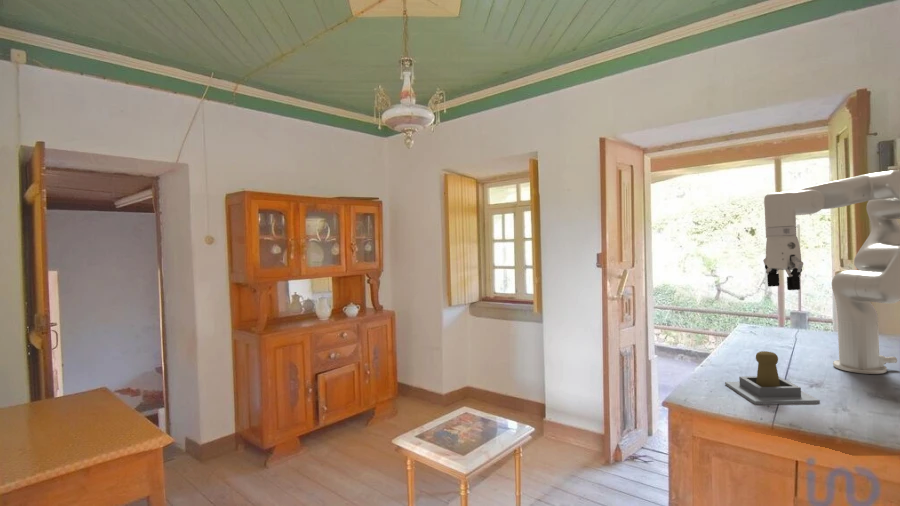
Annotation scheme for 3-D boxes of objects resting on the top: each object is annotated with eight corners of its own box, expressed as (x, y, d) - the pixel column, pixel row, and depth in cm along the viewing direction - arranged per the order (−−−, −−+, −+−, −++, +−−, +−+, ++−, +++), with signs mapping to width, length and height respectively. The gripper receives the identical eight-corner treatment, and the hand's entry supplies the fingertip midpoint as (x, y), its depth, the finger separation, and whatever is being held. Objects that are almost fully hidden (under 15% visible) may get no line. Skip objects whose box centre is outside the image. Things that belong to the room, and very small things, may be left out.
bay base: (781, 383, 131) (781, 372, 131) (819, 403, 116) (819, 390, 115) (725, 384, 133) (724, 373, 133) (755, 404, 118) (754, 392, 117)
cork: (750, 387, 128) (748, 350, 127) (769, 385, 128) (767, 348, 128) (766, 394, 122) (765, 355, 121) (787, 392, 122) (785, 353, 122)
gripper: (814, 231, 125) (816, 290, 125) (776, 232, 142) (778, 284, 142) (785, 233, 126) (788, 292, 126) (751, 233, 143) (754, 285, 143)
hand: (783, 287), depth 134 cm, fingers open, 9 cm apart
